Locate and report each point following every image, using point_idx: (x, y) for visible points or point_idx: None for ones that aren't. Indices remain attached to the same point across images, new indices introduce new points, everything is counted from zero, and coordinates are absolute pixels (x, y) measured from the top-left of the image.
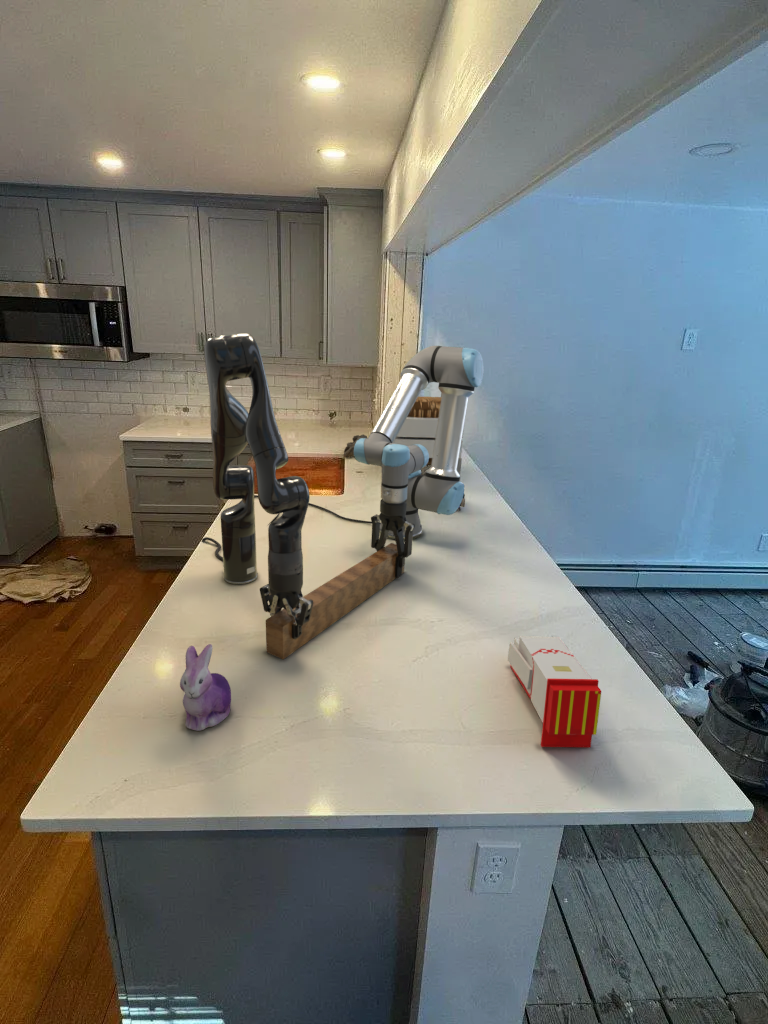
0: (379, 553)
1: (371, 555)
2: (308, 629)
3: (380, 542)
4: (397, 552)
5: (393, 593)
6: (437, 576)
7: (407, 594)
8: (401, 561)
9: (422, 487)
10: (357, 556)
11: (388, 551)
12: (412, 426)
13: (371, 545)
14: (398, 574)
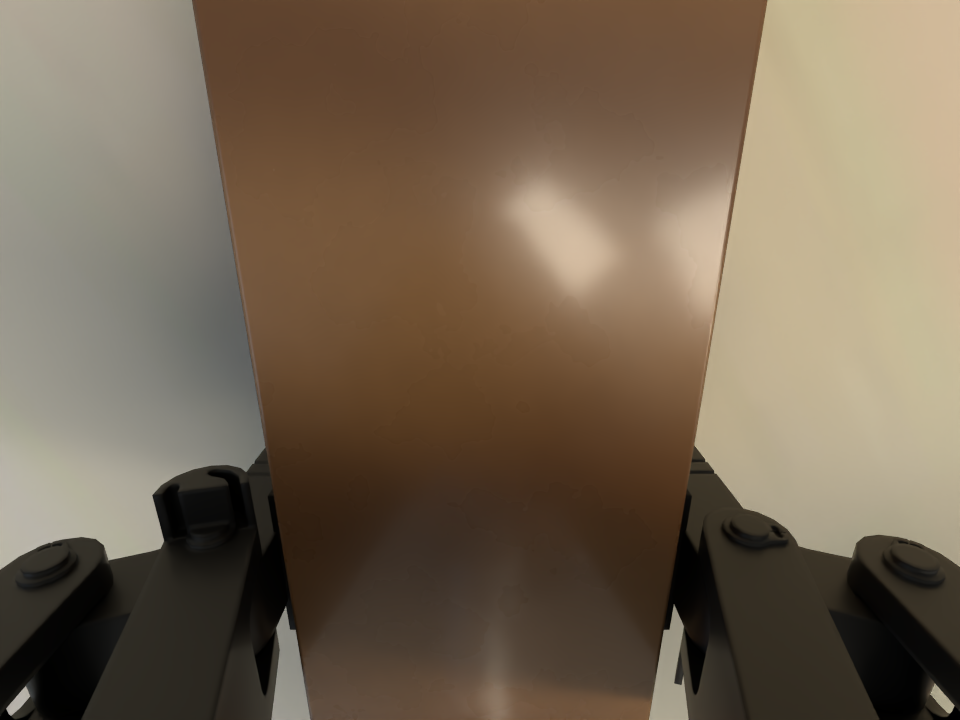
0: (588, 308)
1: (736, 27)
2: None
3: (796, 709)
4: (292, 598)
5: (189, 24)
6: None
7: (60, 111)
8: (251, 488)
9: None
10: (945, 544)
11: (461, 528)
12: None
13: (957, 572)
14: None
